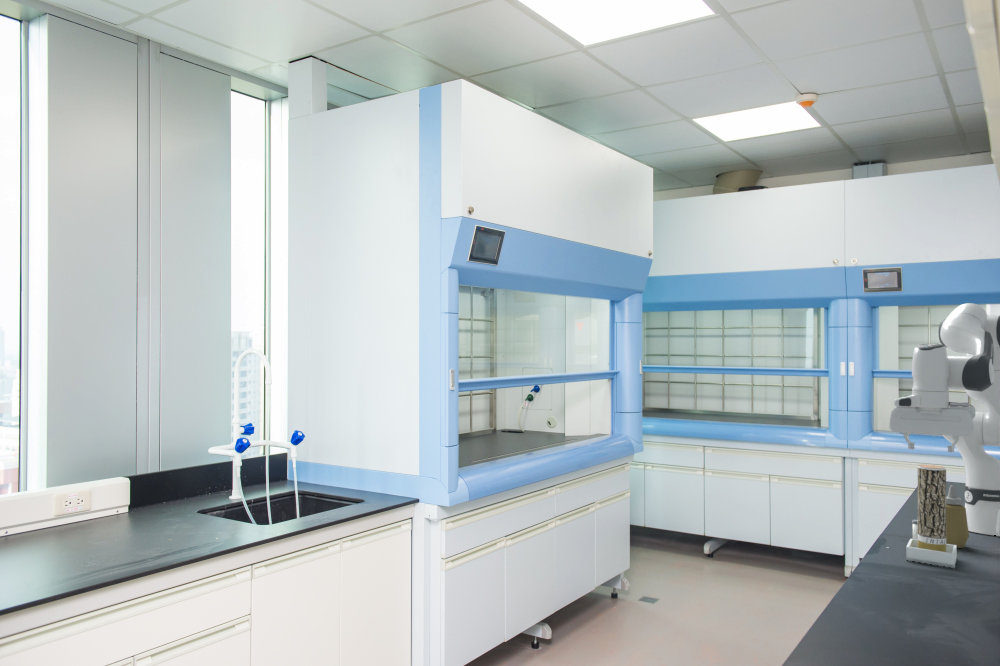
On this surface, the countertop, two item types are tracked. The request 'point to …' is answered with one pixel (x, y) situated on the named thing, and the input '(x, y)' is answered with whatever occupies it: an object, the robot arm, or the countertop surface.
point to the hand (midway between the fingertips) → (930, 450)
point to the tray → (931, 554)
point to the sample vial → (915, 529)
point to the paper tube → (932, 507)
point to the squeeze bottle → (956, 520)
